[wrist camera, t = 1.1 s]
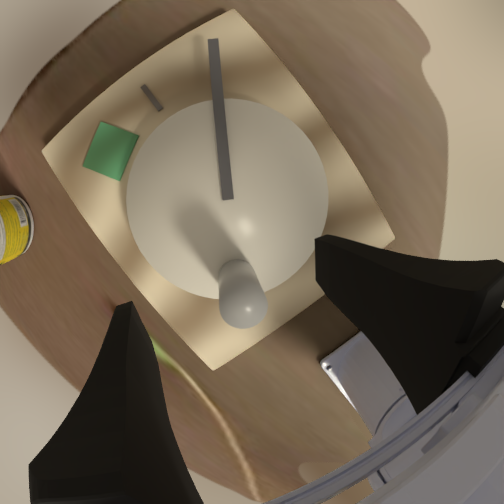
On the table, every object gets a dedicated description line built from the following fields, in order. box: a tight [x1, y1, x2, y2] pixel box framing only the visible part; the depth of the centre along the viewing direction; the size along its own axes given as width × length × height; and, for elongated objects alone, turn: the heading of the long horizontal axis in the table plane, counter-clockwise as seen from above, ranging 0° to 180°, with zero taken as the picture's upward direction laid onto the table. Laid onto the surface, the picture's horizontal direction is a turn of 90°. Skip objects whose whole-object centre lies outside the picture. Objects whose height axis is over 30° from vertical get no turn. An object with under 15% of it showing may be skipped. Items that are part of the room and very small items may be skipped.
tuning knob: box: [126, 38, 328, 329], centre depth 16 cm, size 18×13×6 cm
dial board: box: [42, 9, 395, 371], centre depth 21 cm, size 22×18×2 cm
